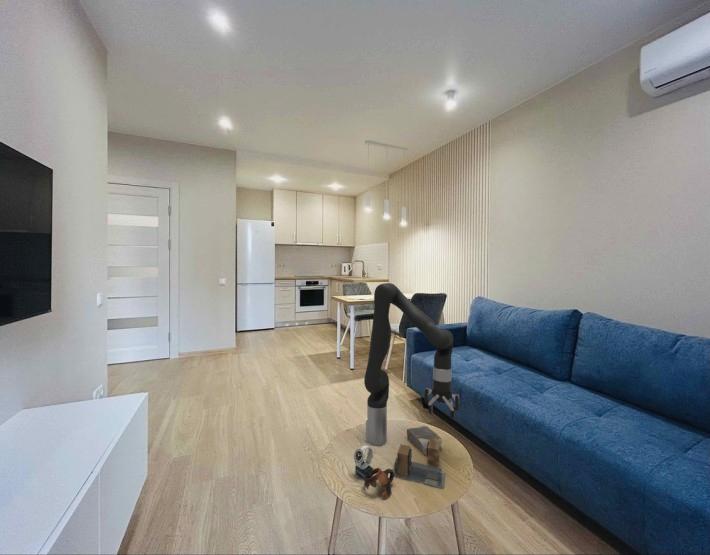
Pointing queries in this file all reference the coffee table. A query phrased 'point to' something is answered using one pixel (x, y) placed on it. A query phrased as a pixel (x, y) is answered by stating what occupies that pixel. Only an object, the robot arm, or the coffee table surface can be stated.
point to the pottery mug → (380, 480)
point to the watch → (359, 458)
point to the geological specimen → (422, 438)
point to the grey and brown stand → (416, 469)
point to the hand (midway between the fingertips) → (441, 416)
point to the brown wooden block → (433, 453)
